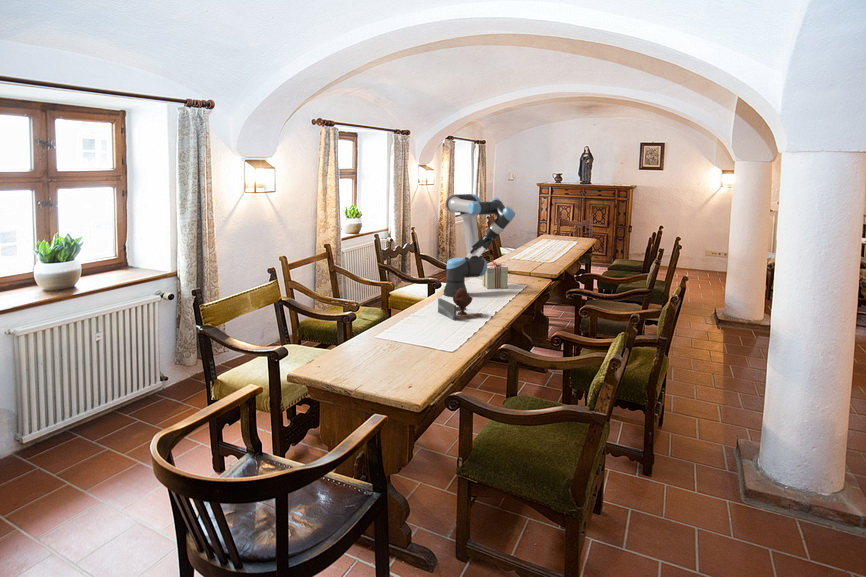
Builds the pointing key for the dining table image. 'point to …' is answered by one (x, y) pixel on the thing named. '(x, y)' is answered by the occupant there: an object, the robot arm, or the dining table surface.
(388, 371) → the dining table surface
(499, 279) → the gift box
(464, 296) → the ice cream bowl
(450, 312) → the frame
